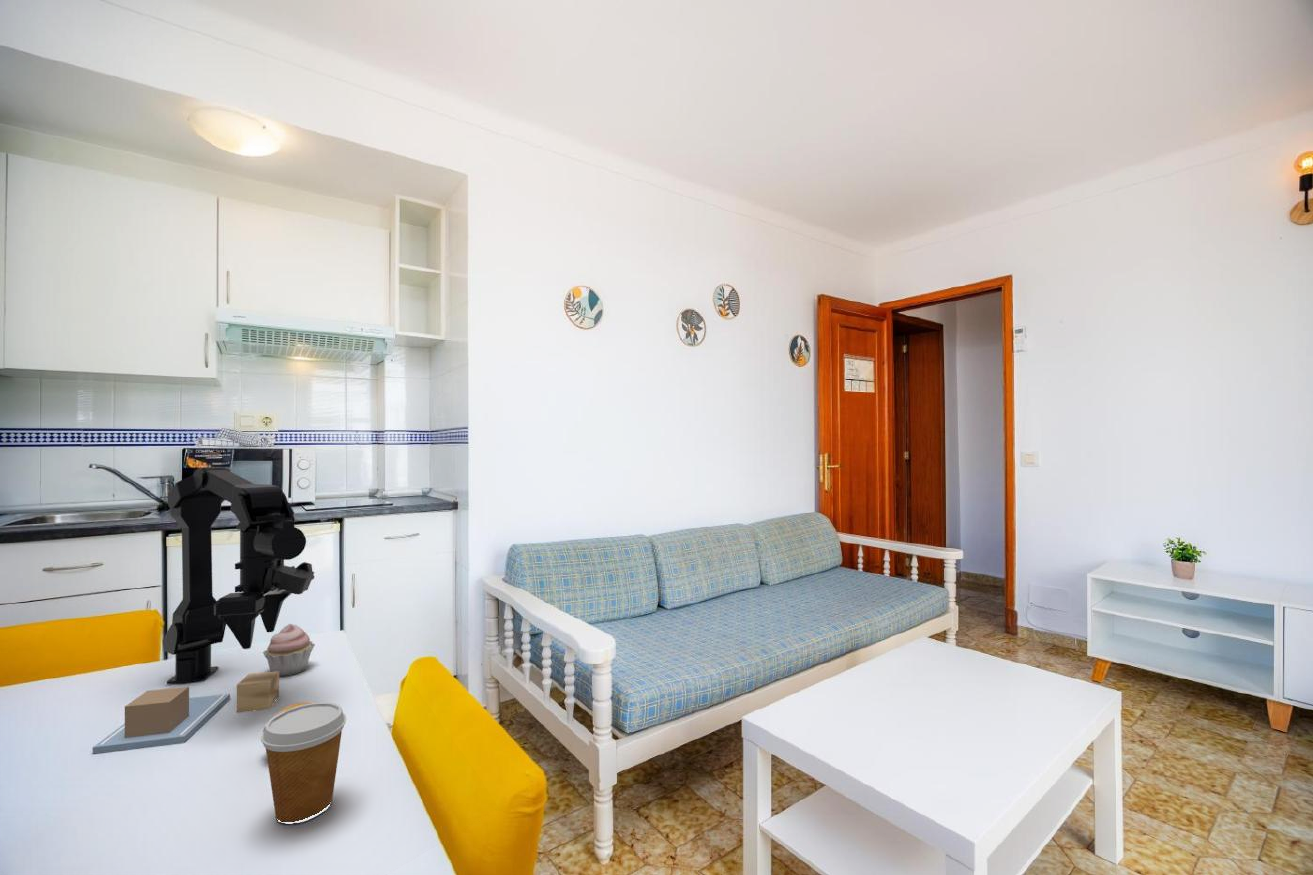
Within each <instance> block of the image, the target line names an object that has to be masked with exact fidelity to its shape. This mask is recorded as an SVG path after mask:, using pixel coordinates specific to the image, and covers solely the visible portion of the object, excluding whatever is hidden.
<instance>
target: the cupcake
mask: <svg viewBox="0 0 1313 875" xmlns="http://www.w3.org/2000/svg"><path fill="white" fill-rule="evenodd" d="M315 645H316V643H313V640H312V641H311V638H310V636H309V635H308V634H307V632H305V630H303V629H302V628H301V627H300V626H299V625H297V624H293V623H288V624H287V625H285V626H284V627H283V628H282V629H281V630H280V631H279V632H278V633H276V634H275V633H274V634H273V635H272V636H271V638H270V642H269V644H268V646H267V647H266V650H263V652H262V653H263V655H264V657H265V659H266V660H267V663H268V666H269V667H268V668H269V672H275V671H279V677H285V676H286V677H287V676H291V675H295V674H299V673H301V672H303V671H304V670H306V669H305V668H307V667H308V664H309V660H310V657H311V655H312V654H311V653H312V651H313V650H314V648H315Z"/></svg>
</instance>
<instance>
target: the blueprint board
mask: <svg viewBox="0 0 1313 875" xmlns="http://www.w3.org/2000/svg"><path fill="white" fill-rule="evenodd" d="M230 700H231V693H224V694H214V695H205V696H196V697H190V686H183V687H182V686H181V687H173V688H162V689H153V690H146V691H145V692H143V693H142V694H141V695H139V696H138V697H136V698H135V699H134V700H132V701H131V702H129V703H128V704H126V705H124V723H123V724H122V725H120V726H119V727H118V728H116V729H115V730H114V731H112V732H111V733H110V734H108V735H107V736H106V737H104V738H103V739H102V740H101V741H99V742H98V743H96V744H95V745H94V746H92V754H93V755H95V754H102V753H111V752H118V751H119V752H120V751H126V750H135V749H142V748H150V747H151V748H152V747H159V746H168V745H176V744H182V743H186V742H187V741H188V740H190V738H191V737H192V736H194V734H196V732H197V731H199V730H200V728H202V727H203V726H204V725H205V724H206V723H207V722H208V721H209V720H210V719H211V718H212V717H213V716H214V715H215V714H216V713H217V712H218V711H220V709H221V708H223V707H224V706H225V704H227V703H228V702H229V701H230Z"/></svg>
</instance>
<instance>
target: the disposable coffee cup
mask: <svg viewBox="0 0 1313 875" xmlns="http://www.w3.org/2000/svg"><path fill="white" fill-rule="evenodd" d="M311 703H312V704H306V705H301V706H298V707H294V708H292V709H289V710H286V711H283V712H281V713H279V714H277V713H276V714H277V715H276V714H275V715H276V716H275V715H274V716H273V717H271V718H270V719H269V720H268V721H267V722H266V724H265V726H264V728H265V730H264V729H263V730H264V732H263V731H262V733H261V735H260V741H261V742H262V745H263V747H264V748H265V753H266V761H267V765H268V766H267V767H268V773H269V779H270V787H271V793H272V794H271V795H272V800H273V807H274V814H275V819H276V818H277V819H278V820H280V821H281V822H295V821H299V820H303V819H305V818H308V817H310V816H312V815H315V814H317V813H319V812H320V811H322V810H323V809H324V808H326V807H327V806H328V805H329V804H330V802H331V801H332V802H333V798H334V789H335V783H336V776H337V775H336V774H337V770H338V762H339V755H340V754H339V753H340V747H341V740H342V734H343V729H344V727H345V725H346V722H347V715H346V714H345V713H344V712H343V708H342V707H341V705H339V704H338V703H335V702H311Z"/></svg>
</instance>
